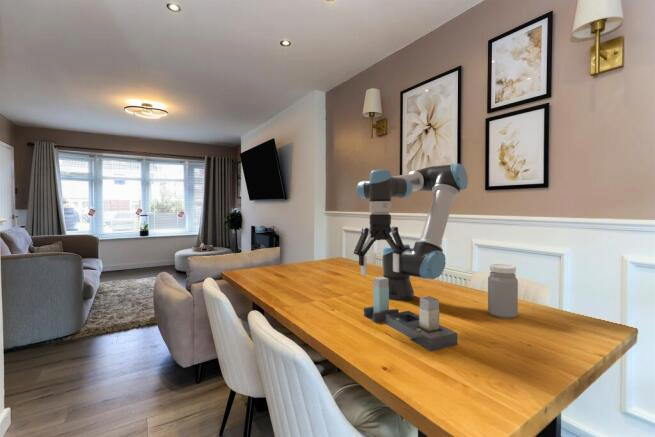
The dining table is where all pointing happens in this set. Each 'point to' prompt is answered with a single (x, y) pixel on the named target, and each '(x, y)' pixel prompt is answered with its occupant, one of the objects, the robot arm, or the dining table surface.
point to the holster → (377, 314)
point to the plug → (380, 294)
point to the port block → (423, 326)
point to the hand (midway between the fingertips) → (380, 273)
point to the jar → (503, 291)
